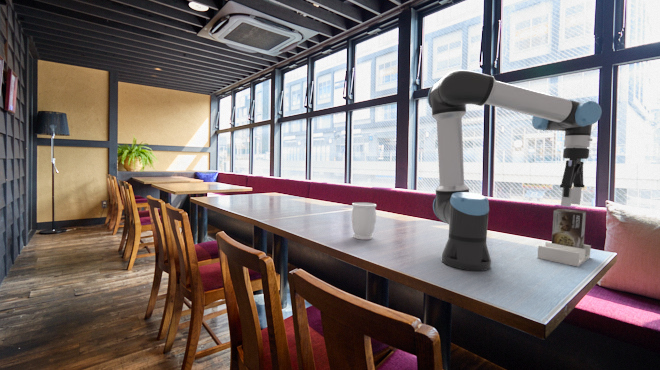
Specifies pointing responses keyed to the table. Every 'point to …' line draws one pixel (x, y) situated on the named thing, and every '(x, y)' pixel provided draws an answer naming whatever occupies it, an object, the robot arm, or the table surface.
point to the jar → (363, 220)
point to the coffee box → (569, 227)
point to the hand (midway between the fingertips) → (570, 205)
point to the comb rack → (564, 253)
